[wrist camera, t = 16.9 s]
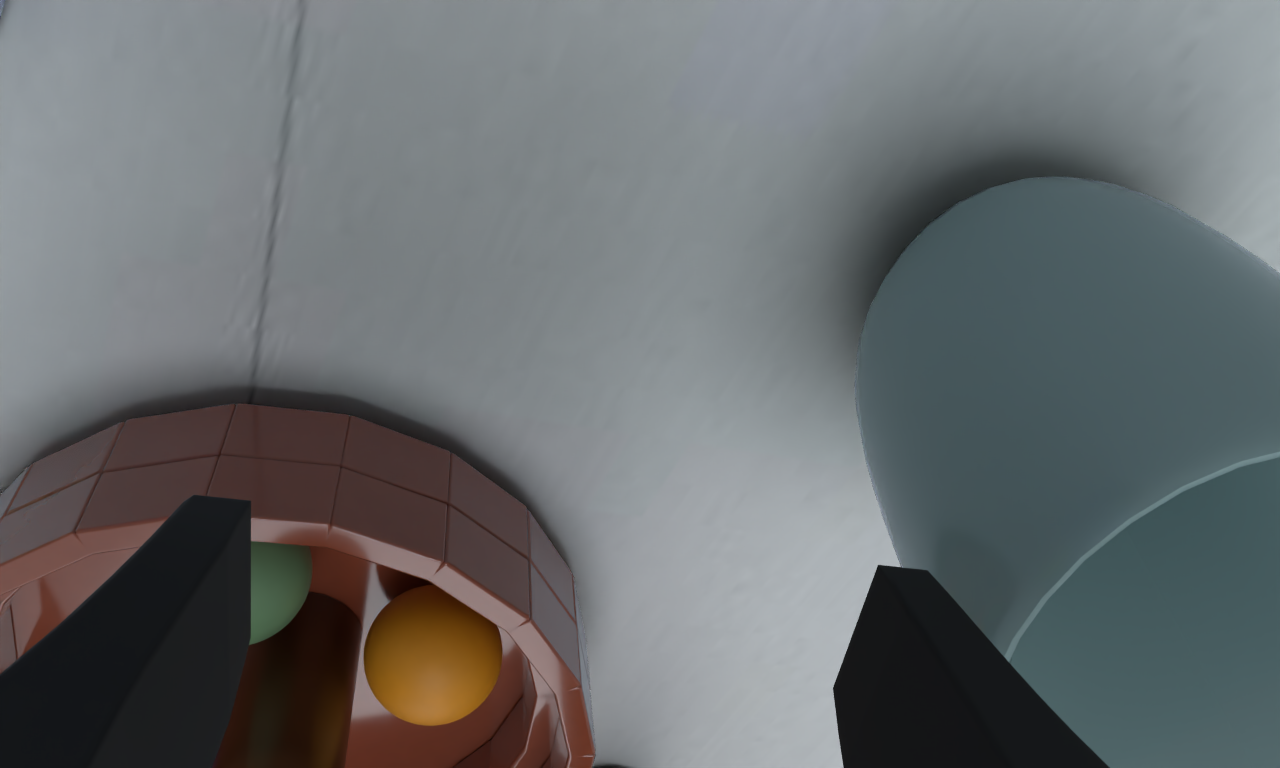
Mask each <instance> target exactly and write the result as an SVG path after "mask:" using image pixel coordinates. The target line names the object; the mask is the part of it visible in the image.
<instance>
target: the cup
mask: <svg viewBox="0 0 1280 768" xmlns="http://www.w3.org/2000/svg"><path fill="white" fill-rule="evenodd" d="M854 387H855V402H856V411H857V416H858V422H859V428H860V434H861V439H862V444H863V449H864V454H865V460H866V464H867V467H868V471H869V475H870V478H871V482H872V486H873V489H874V492H875V495H876V498H877V501H878V505H879V508H880V511H881V514H882V517H883V520H884V522H885V525H886V528H887V531H888V533H889V536H890V539H891V541H892V544H893V547H894V549H895V552H896V555H897V557H898V560H899V562H900V565H901V567H902V568H912V569H922V570H928V571H929V572H930V573H931V575H932V576H933V577H934V578H935V579H936V580H937V581H938V582H939V583H940V584H941V585H942V586H943V588H944V589H945V590H946V591H947V592H948V593H949V594H950V595H951V597H952V598H953V599H954V600H955V601H956V602H957V603H958V605H959V606H960V607H961V608H962V609H963V610H964V611H965V613H966V614H967V615H968V616H969V617H970V618H971V619H972V621H973V622H974V623H975V624H976V625H977V626H978V628H979V629H980V630H981V631H982V632H983V633H984V634H985V636H986V637H987V638H988V639H989V640H990V641H991V642H992V644H993V645H994V646H995V647H996V648H997V649H998V650H999V652H1000V653H1001V654H1002V655H1003V656H1004V657H1005V658H1006V659H1007V661H1008V662H1009V663H1010V664H1011V665H1012V666H1013V667H1014V668H1015V670H1016V671H1017V672H1018V673H1019V674H1020V675H1021V676H1022V677H1023V678H1024V679H1025V681H1026V682H1027V683H1028V684H1029V685H1030V686H1031V687H1032V688H1033V689H1034V690H1035V692H1036V693H1037V694H1038V695H1039V696H1040V697H1041V698H1042V699H1043V700H1044V701H1045V702H1046V703H1047V704H1048V706H1049V707H1050V708H1051V709H1052V710H1053V711H1054V712H1055V713H1056V714H1057V715H1058V716H1059V717H1060V718H1061V719H1062V720H1063V721H1064V722H1065V723H1066V724H1067V725H1068V727H1069V728H1070V729H1071V730H1072V731H1073V732H1074V733H1075V734H1076V735H1077V736H1078V737H1079V738H1080V739H1081V740H1082V741H1083V742H1084V743H1085V744H1086V745H1087V746H1088V747H1090V748H1091V749H1092V750H1093V751H1094V752H1095V753H1096V754H1097V755H1098V756H1099V757H1100V758H1101V759H1102V760H1103V761H1104V762H1105V763H1106V764H1107V765H1108V766H1109V767H1110V768H1280V273H1279V272H1277V271H1276V270H1275V269H1273V268H1272V267H1271V266H1269V265H1268V264H1267V263H1265V262H1264V261H1263V260H1261V259H1260V258H1259V257H1257V256H1256V255H1254V254H1253V253H1251V252H1250V251H1248V250H1247V249H1245V248H1244V247H1242V246H1241V245H1239V244H1238V243H1236V242H1235V241H1233V240H1232V239H1230V238H1229V237H1227V236H1226V235H1224V234H1222V233H1220V232H1219V231H1217V230H1215V229H1213V228H1211V227H1210V226H1208V225H1206V224H1204V223H1203V222H1201V221H1199V220H1197V219H1196V218H1194V217H1192V216H1190V215H1188V214H1187V213H1185V212H1183V211H1181V210H1180V209H1178V208H1176V207H1174V206H1172V205H1171V204H1169V203H1166V202H1164V201H1161V200H1159V199H1157V198H1154V197H1152V196H1149V195H1147V194H1144V193H1141V192H1138V191H1135V190H1132V189H1128V188H1125V187H1122V186H1119V185H1116V184H1113V183H1108V182H1103V181H1098V180H1091V179H1083V178H1075V177H1066V176H1052V177H1038V178H1025V179H1020V180H1016V181H1012V182H1008V183H1005V184H1001V185H997V186H993V187H990V188H986V189H984V190H982V191H980V192H978V193H976V194H974V195H972V196H970V197H968V198H966V199H964V200H962V201H960V202H958V203H956V204H955V205H953V206H952V207H951V208H949V209H948V210H947V211H945V212H944V213H943V214H941V215H940V216H939V217H937V218H936V219H935V220H933V221H932V222H930V223H929V224H928V225H927V226H926V227H925V228H924V229H923V230H922V231H921V232H920V233H919V234H918V235H917V237H916V238H915V239H914V240H913V241H912V242H911V243H910V244H909V245H908V246H907V247H906V248H905V249H904V251H903V252H902V254H901V255H900V256H899V258H898V259H897V260H896V262H895V263H894V265H893V266H892V267H891V269H890V270H889V271H888V273H887V275H886V277H885V279H884V280H883V282H882V284H881V286H880V288H879V290H878V292H877V294H876V296H875V298H874V300H873V302H872V304H871V306H870V308H869V310H868V313H867V316H866V319H865V322H864V325H863V329H862V332H861V335H860V338H859V345H858V353H857V362H856V373H855V384H854Z"/></svg>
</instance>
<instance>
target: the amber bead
mask: <svg viewBox="0 0 1280 768" xmlns="http://www.w3.org/2000/svg"><path fill="white" fill-rule="evenodd" d="M502 656H503V649H502V640H501V635H500V632H499V629H498V626H497V625H495V624H494V623H492V622H491V621H489V620H488V619H486V618H485V617H483V616H482V615H480V614H478V613H477V612H475V611H474V610H472V609H471V608H469V607H468V606H466V605H465V604H463V603H462V602H460V601H458V600H457V599H455V598H454V597H452V596H451V595H449V594H448V593H446V592H445V591H443V590H442V589H440V588H439V587H437V586H435V585H426V586H421V587H417V588H414V589H411V590H409V591H406V592H404V593H402V594H400V595H399V596H397V597H395V598H394V599H393V600H392V601H390V602H389V603H388V604H387V605H386V606H385V607H384V608H383V609H382V610H381V611H380V612H379V614H378V615H377V617H376V618H375V620H374V621H373V623H372V625H371V627H370V629H369V632H368V635H367V638H366V641H365V646H364V657H363V660H364V671H365V675H366V678H367V682H368V684H369V686H370V689H371V691H372V692H373V694H374V696H375V697H376V699H377V700H378V701H379V702H380V703H381V705H382V706H383V707H384V708H385V709H386V710H388V711H389V712H390V713H392V714H393V715H395V716H396V717H398V718H400V719H402V720H404V721H407V722H410V723H413V724H418V725H425V726H436V725H443V724H448V723H451V722H454V721H457V720H459V719H461V718H463V717H465V716H467V715H468V714H470V713H471V712H473V711H474V710H475V709H476V708H478V707H479V706H480V705H481V704H482V703H483V702H484V701H485V699H486V698H487V697H488V695H489V694H490V693H491V691H492V690H493V688H494V686H495V684H496V682H497V679H498V676H499V673H500V670H501V665H502Z"/></svg>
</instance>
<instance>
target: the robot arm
mask: <svg viewBox="0 0 1280 768" xmlns="http://www.w3.org/2000/svg"><path fill="white" fill-rule="evenodd" d="M4 3H5V0H0V17H1V14H2V10H3V6H4ZM250 639H251V501H250V500H240V499H230V498H220V497H211V496H201V495H193V496H191V497H190V498H188V499H187V500H185V501H184V502H183V503H182V504H181V505H180V506H179V507H178V508H177V509H176V510H175V511H174V512H173V514H172V515H171V516H170V517H169V518H168V519H167V520H166V521H165V522H164V523H163V524H162V525H161V526H160V527H159V528H158V529H157V530H156V532H155V533H154V534H153V535H152V536H151V537H150V538H149V539H148V540H147V541H146V542H145V543H144V544H143V545H142V546H141V547H140V548H139V549H138V550H137V551H136V552H135V553H134V554H133V555H132V556H131V557H130V558H129V559H128V560H127V561H126V562H125V563H124V564H123V565H122V566H121V567H120V568H119V569H118V570H117V571H116V572H115V573H114V574H113V575H112V576H111V577H110V578H109V579H107V580H106V581H105V582H104V583H103V584H102V585H101V586H100V587H99V588H98V589H97V590H96V591H95V592H94V593H92V594H91V595H90V596H89V597H88V598H87V599H86V600H85V601H84V602H83V603H82V604H81V605H80V606H79V607H77V608H76V609H75V610H74V611H73V612H72V613H71V614H70V615H69V616H68V617H67V618H66V619H64V620H63V621H62V622H61V623H60V624H59V625H58V626H57V627H55V628H54V629H53V630H52V631H51V632H50V633H48V634H47V635H46V636H45V637H44V638H42V639H41V640H40V641H39V642H38V643H36V644H35V645H34V646H33V647H32V648H30V649H29V650H28V651H27V652H26V653H25V654H23V655H22V656H21V657H20V658H19V659H17V660H16V661H15V662H14V663H13V664H11V665H10V666H9V667H8V668H7V669H5V670H4V671H3V672H2V673H1V674H0V768H212V766H213V763H214V761H215V758H216V755H217V753H218V750H219V748H220V745H221V742H222V740H223V737H224V734H225V732H226V729H227V726H228V724H229V721H230V717H231V713H232V710H233V706H234V702H235V698H236V694H237V691H238V687H239V683H240V679H241V675H242V671H243V667H244V663H245V659H246V655H247V651H248V647H249V643H250ZM833 691H834V700H835V708H836V716H837V724H838V733H839V739H840V746H841V753H842V759H843V766H844V768H1110V767H1109V766H1108V765H1107V764H1106V763H1105V762H1104V761H1103V760H1102V759H1101V758H1100V757H1099V756H1098V755H1097V754H1096V753H1095V752H1094V751H1093V750H1092V749H1091V748H1090V747H1088V746H1087V745H1086V744H1085V743H1084V742H1083V741H1082V740H1081V739H1080V738H1079V737H1078V736H1077V735H1076V734H1075V733H1074V732H1073V731H1072V730H1071V729H1070V728H1069V727H1068V725H1067V724H1066V723H1065V722H1064V721H1063V720H1062V719H1061V718H1060V717H1059V716H1058V715H1057V714H1056V713H1055V712H1054V711H1053V710H1052V709H1051V708H1050V707H1049V706H1048V704H1047V703H1046V702H1045V701H1044V700H1043V699H1042V698H1041V697H1040V696H1039V695H1038V694H1037V693H1036V692H1035V690H1034V689H1033V688H1032V687H1031V686H1030V685H1029V684H1028V683H1027V682H1026V681H1025V679H1024V678H1023V677H1022V676H1021V675H1020V674H1019V673H1018V672H1017V671H1016V670H1015V668H1014V667H1013V666H1012V665H1011V664H1010V663H1009V662H1008V661H1007V659H1006V658H1005V657H1004V656H1003V655H1002V654H1001V653H1000V652H999V650H998V649H997V648H996V647H995V646H994V645H993V644H992V642H991V641H990V640H989V639H988V638H987V637H986V636H985V634H984V633H983V632H982V631H981V630H980V629H979V628H978V626H977V625H976V624H975V623H974V622H973V621H972V619H971V618H970V617H969V616H968V615H967V614H966V613H965V611H964V610H963V609H962V608H961V607H960V606H959V605H958V603H957V602H956V601H955V600H954V599H953V598H952V597H951V595H950V594H949V593H948V592H947V591H946V590H945V589H944V588H943V586H942V585H941V584H940V583H939V582H938V581H937V580H936V579H935V578H934V577H933V576H932V575H931V573H930V572H929V571H928V570H922V569H912V568H902V567H892V566H883V565H878V567H877V570H876V572H875V575H874V578H873V581H872V583H871V586H870V589H869V592H868V594H867V597H866V600H865V602H864V605H863V608H862V611H861V613H860V616H859V619H858V622H857V624H856V627H855V630H854V632H853V635H852V638H851V641H850V643H849V646H848V649H847V652H846V654H845V657H844V660H843V663H842V665H841V668H840V671H839V673H838V676H837V679H836V682H835V684H834V687H833Z"/></svg>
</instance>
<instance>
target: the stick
mask: <svg viewBox="0 0 1280 768" xmlns="http://www.w3.org/2000/svg"><path fill="white" fill-rule="evenodd" d="M361 641H362V629H361V626H360V623H359V621H358V619H357V617H356V616H355V614H354V613H353V612H352V611H351V610H350V609H349V608H348V607H347V606H345V605H344V604H343V603H341V602H339V601H338V600H336V599H334V598H331V597H329V596H326V595H322V594H318V593H312V592H308V595H307V597H306V600H305V602H304V604H303V605H302V607H301V609H300V610H299V612H298V613H297V614H296V616H295V617H294V618H293V619H292V621H291V622H290V623H289V624H288V625H286V626H285V627H284V628H283V629H282V630H280V631H279V632H278V633H276V634H275V635H273V636H271V637H269V638H267V639H265V640H263V641H261V642H258V643H255V644H251V645H249V647H248V651H247V655H246V659H245V663H244V667H243V671H242V675H241V679H240V683H239V687H238V691H237V694H236V698H235V702H234V706H233V710H232V713H231V717H230V721H229V724H228V726H227V729H226V732H225V734H224V737H223V740H222V742H221V745H220V748H219V750H218V753H217V755H216V758H215V761H214V763H213V766H212V768H345V762H346V754H347V747H348V739H349V732H350V724H351V717H352V709H353V701H354V694H355V686H356V679H357V671H358V664H359V656H360V648H361Z"/></svg>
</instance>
